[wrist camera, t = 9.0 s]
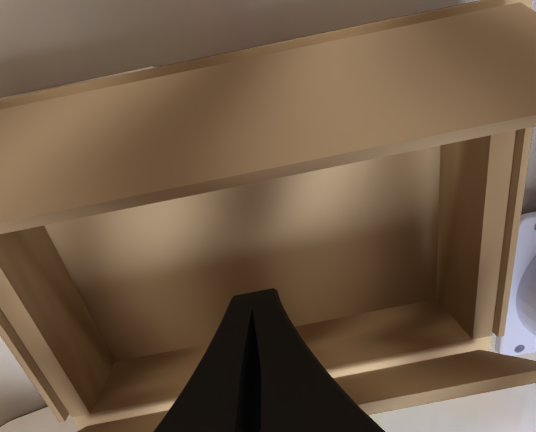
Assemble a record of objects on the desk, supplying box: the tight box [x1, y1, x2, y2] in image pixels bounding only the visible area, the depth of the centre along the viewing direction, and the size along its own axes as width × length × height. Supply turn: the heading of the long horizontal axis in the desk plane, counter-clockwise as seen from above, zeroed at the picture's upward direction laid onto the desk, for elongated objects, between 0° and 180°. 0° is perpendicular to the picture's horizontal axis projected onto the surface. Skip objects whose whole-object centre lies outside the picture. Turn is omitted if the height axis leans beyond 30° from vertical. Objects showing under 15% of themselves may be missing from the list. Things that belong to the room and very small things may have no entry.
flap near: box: [0, 2, 536, 234], centre depth 7 cm, size 17×4×1 cm
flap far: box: [77, 350, 536, 432], centre depth 11 cm, size 17×4×1 cm
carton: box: [0, 0, 533, 429], centre depth 12 cm, size 18×13×3 cm
